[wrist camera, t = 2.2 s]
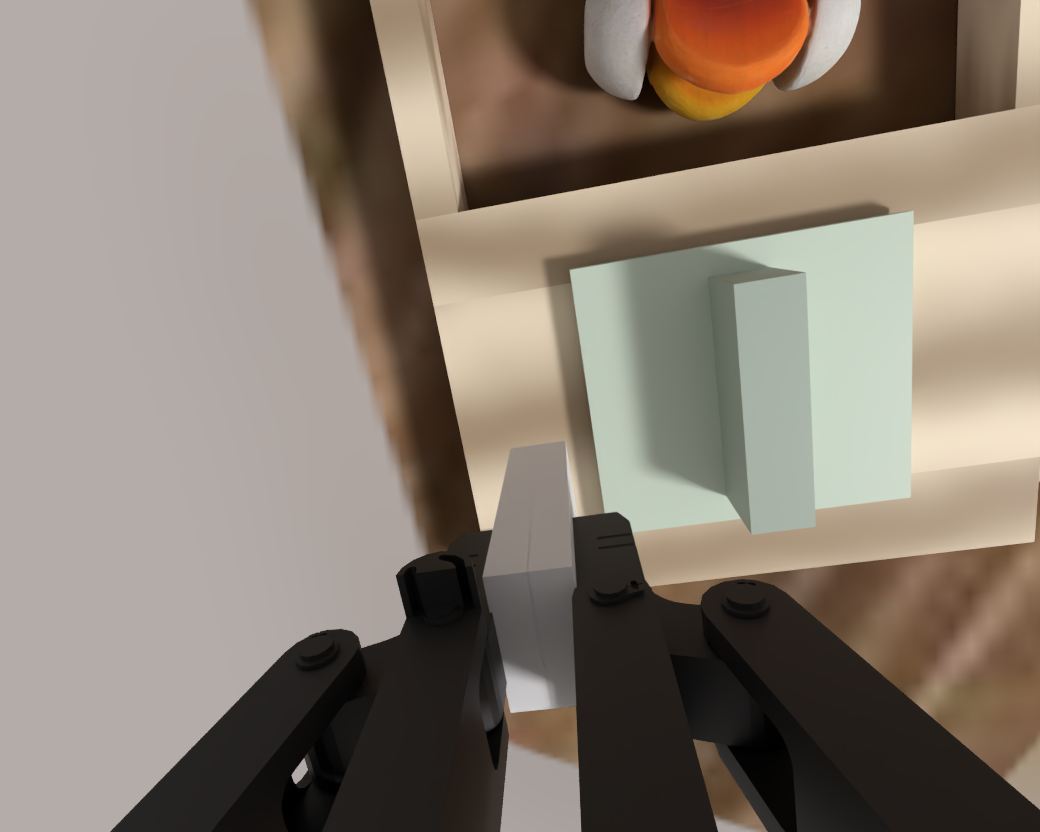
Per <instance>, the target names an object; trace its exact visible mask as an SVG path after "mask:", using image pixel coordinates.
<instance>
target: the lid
mask: <svg viewBox="0 0 1040 832" xmlns="http://www.w3.org/2000/svg"><path fill="white" fill-rule="evenodd" d="M913 235H914V211H903V212H897V213H892V214H886V215H880V216H874V217H868V218H863V219H857V220H851V221H845V222H839V223H834V224H828V225H822V226H816V227H810V228H805V229H799V230H793V231H787V232H781V233H776V234H770V235H764V236H758V237H752V238H747V239H741V240H735V241H729V242H723V243H718V244H712V245H706V246H700V247H694V248H689V249H683V250H677V251H671V252H665V253H660V254H654V255H648V256H642V257H636V258H631V259H625V260H619V261H613V262H607V263H602V264H596V265H590V266H584V267H578V268H573V269H569V271H570V278H571V284H572V291H573V298H574V305H575V312H576V319H577V326H578V333H579V340H580V347H581V354H582V360H583V367H584V374H585V381H586V388H587V395H588V402H589V409H590V416H591V423H592V430H593V436H594V443H595V450H596V457H597V464H598V471H599V478H600V485H601V492H602V499H603V506H604V512H605V513H611V512H618V513H620V514H621V515H622V516H624V517H625V518H626V519H628V520H629V521H630V525H631V529H632V533H633V532H641V531H648V530H656V529H664V528H672V527H680V526H688V525H696V524H704V523H712V522H720V521H728V520H736V519H742V521H743V523H744V524H745V526H746V527H747V529H748V530H749V532H750V533H751V535H754V534H762V533H770V532H778V531H786V530H794V529H802V528H811V527H816V519H815V509H823V508H831V507H839V506H847V505H855V504H863V503H871V502H879V501H887V500H895V499H903V498H910V497H911V436H912V336H913Z"/></svg>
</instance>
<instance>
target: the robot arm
mask: <svg viewBox="0 0 1040 832" xmlns="http://www.w3.org/2000/svg"><path fill="white" fill-rule="evenodd" d="M396 578H397V582H398V586H399V590H400V594H401V598H402V602H403V606H404V610H405V614H406V621H405V623H404V626H403V628H402V631H401V633H400V635H398V636H396V637H393V638H391V639H389V640H386V641H383V642H380V643H377V644H373V645H370V646H367V647H364V648H361V645H360V641H359V638H358V636H356V635H355V634H354V633H353V632H352V631H348V630H343V629H337V630H326V631H321V632H320V633H315V634H312V635H310V636H309V637H307V638H305V639H304V640H302V641H300V642H298V643H296V644H295V645H294V646H292V647H291V648H290V649H289V650H287V651H286V652H285V653H284V654H283V655H282V656H281V657H280V658H279V659H278V660H277V661H276V662H275V663H274V664H273V665H272V666H271V667H270V668H269V670H267V672H266V673H265V674H264V675H263V676H262V677H261V678H260V679H259V680H258V681H257V682H256V683H255V684H254V685H253V686H252V687H251V688H250V689H249V690H248V691H247V692H246V693H245V694H244V695H243V696H242V697H241V698H240V699H239V701H237V702H236V703H235V704H234V705H233V706H232V707H231V709H230V710H229V711H228V712H227V713H226V714H225V715H224V716H223V717H222V718H221V719H220V720H219V721H218V722H217V723H216V724H215V725H214V726H213V727H212V728H211V729H210V730H209V731H208V732H207V733H206V734H205V735H204V736H203V737H202V738H201V739H200V740H199V741H198V742H197V743H196V744H195V746H193V747H192V748H191V750H189V752H188V753H187V754H186V755H185V756H184V757H183V758H182V759H181V760H180V761H179V762H178V763H177V764H176V765H175V766H174V767H173V768H172V769H171V770H170V771H169V772H168V773H167V774H166V775H165V776H164V777H163V778H162V779H161V780H160V781H159V782H158V783H157V784H156V785H155V786H154V788H153V789H152V790H151V791H150V792H149V793H148V794H147V795H146V796H145V797H144V798H143V799H142V800H141V801H140V802H139V803H138V804H137V805H136V806H135V807H134V808H133V809H132V810H131V811H130V812H129V813H128V814H127V815H126V816H125V817H124V818H123V819H122V820H121V822H119V823H118V824H117V825H116V827H114V828H113V829H112V831H111V832H500V827H501V826H500V825H501V816H502V805H503V794H504V793H503V792H504V783H505V772H506V761H507V750H508V739H509V734H508V728H507V722H506V718H505V713H504V704H505V695H506V693H507V698H508V702H509V707H510V712H511V713H513V712H523V711H533V710H543V709H553V708H563V707H573V706H576V711H577V735H578V759H579V783H580V807H581V832H718V830H717V827H716V822H715V819H714V815H713V812H712V808H711V804H710V801H709V797H708V793H707V790H706V786H705V782H704V779H703V775H702V771H701V768H700V764H699V760H698V757H697V753H696V749H695V746H694V742H693V739H696V740H702V741H707V742H713V743H715V745H716V748H717V750H718V753H719V756H720V758H721V759H722V761H723V762H724V764H725V765H726V767H727V768H728V770H729V772H730V773H731V775H732V776H733V778H734V779H735V781H736V783H737V784H738V786H739V787H740V789H741V790H742V792H743V794H744V795H745V797H746V798H747V800H748V801H749V803H750V804H751V806H752V808H753V809H754V811H755V812H756V814H757V815H758V817H759V819H760V820H761V822H762V823H763V825H764V826H765V828H766V829H767V831H768V832H1040V810H1039V809H1038V808H1037V807H1036V806H1035V805H1034V804H1032V803H1031V802H1030V801H1029V800H1028V799H1026V798H1025V797H1024V796H1023V795H1022V794H1021V793H1019V792H1018V791H1017V790H1016V789H1015V788H1014V787H1013V786H1011V785H1010V784H1009V783H1008V782H1007V781H1005V780H1004V779H1003V778H1002V777H1001V776H1000V775H998V774H997V773H996V772H995V771H994V770H993V769H991V768H990V767H989V766H988V765H987V764H986V763H984V762H983V761H982V760H981V759H980V758H979V757H977V756H976V755H975V754H974V753H973V752H972V751H970V750H969V749H968V748H967V747H966V746H965V745H963V744H962V743H961V742H960V741H959V740H958V739H956V738H955V737H954V736H953V735H952V734H951V733H949V732H948V731H947V730H946V729H945V728H943V727H942V726H941V725H940V724H939V723H938V722H936V721H935V720H934V719H933V718H932V717H931V716H929V715H928V714H927V713H926V712H925V711H924V710H922V709H921V708H920V707H919V706H918V705H917V704H915V703H914V702H913V701H912V700H911V699H910V698H908V697H907V696H906V695H905V694H904V693H903V692H901V691H900V690H899V689H898V688H897V687H896V686H894V685H893V684H892V683H891V682H890V681H889V680H887V679H886V678H885V677H884V676H883V675H882V674H880V673H879V672H878V671H877V670H876V669H874V668H873V667H872V666H871V665H870V664H869V663H867V662H866V661H865V660H864V659H863V658H862V657H860V656H859V655H858V654H857V653H856V652H855V651H853V650H852V649H851V648H850V647H849V646H848V645H846V644H845V643H844V642H843V641H842V640H841V639H839V638H838V637H837V636H836V635H835V634H834V633H832V632H831V631H830V630H829V629H828V628H827V627H825V626H824V625H823V624H822V623H821V622H820V621H818V620H817V619H816V618H815V617H814V616H813V615H811V614H810V613H809V612H808V611H807V610H805V609H804V608H803V607H802V606H801V605H800V604H798V603H797V602H796V601H795V600H794V599H793V598H791V597H790V596H789V595H788V594H787V593H786V592H784V591H782V590H780V589H779V588H777V587H775V586H774V585H771V584H767V583H764V582H760V581H756V580H746V579H740V580H733V581H726V582H722V583H720V584H717V585H715V586H712V587H711V588H709V589H708V590H707V591H706V592H705V593H704V594H703V596H702V600H701V604H700V605H694V604H684V603H678V602H673V601H670V600H667V599H664V598H662V597H660V596H658V595H656V594H655V593H654V592H653V591H652V589H651V587H650V586H649V584H648V583H647V581H646V580H645V577H644V574H643V570H642V566H641V562H640V559H639V555H638V551H637V548H636V545H635V540H634V536H633V533H632V529H631V525H630V521H629V520H628V519H626V518H625V517H624V516H622V515H621V514H620V513H618V512H611V513H603V514H595V515H588V516H580V517H578V516H577V510H576V504H575V497H574V491H573V485H572V478H571V472H570V466H569V460H568V453H567V447H566V441H559V442H552V443H545V444H538V445H532V446H525V447H518V448H511V449H510V453H509V458H508V463H507V467H506V472H505V476H504V481H503V485H502V490H501V494H500V499H499V504H498V508H497V513H496V517H495V522H494V526H493V530H486V531H479V532H471V533H463V534H461V535H460V536H459V537H458V538H457V539H456V540H455V541H454V542H453V543H451V544H450V545H449V547H448V550H447V551H441V552H436V553H432V554H427V555H425V556H422V557H420V558H417V559H415V560H413V561H411V562H410V563H408V564H407V565H406V566H404V567H402V569H401V570H400V571H399V572H398V574H397V575H396ZM303 758H305V761H306V764H307V768H308V771H307V773H306V774H305V775H304V777H303V778H302V779H301V780H300V781H299V782H298V783H297V784H295V783H294V782H293V779H292V776H291V775H292V773H293V772H294V770H295V769H296V768H297V766H298V765H299V764H300V762H301V761H302V760H303Z"/></svg>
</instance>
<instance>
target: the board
mask: <svg viewBox="0 0 1040 832" xmlns="http://www.w3.org/2000/svg"><path fill="white" fill-rule="evenodd" d="M370 4H371V9H372V14H373V19H374V23H375V28H376V33H377V38H378V43H379V47H380V52H381V57H382V62H383V66H384V71H385V76H386V81H387V86H388V90H389V95H390V100H391V105H392V109H393V114H394V119H395V124H396V129H397V133H398V138H399V143H400V148H401V153H402V157H403V162H404V167H405V172H406V176H407V181H408V186H409V191H410V196H411V200H412V205H413V210H414V215H415V219H416V224H417V229H418V234H419V239H420V243H421V248H422V253H423V258H424V262H425V267H426V272H427V277H428V282H429V286H430V291H431V296H432V301H433V305H434V310H435V315H436V320H437V325H438V329H439V334H440V339H441V344H442V349H443V353H444V358H445V363H446V368H447V372H448V377H449V382H450V387H451V392H452V396H453V401H454V406H455V411H456V415H457V420H458V425H459V430H460V435H461V439H462V444H463V449H464V454H465V458H466V463H467V468H468V473H469V478H470V482H471V487H472V492H473V497H474V501H475V506H476V511H477V516H478V521H479V525H480V530H481V531H486V530H493V526H494V522H495V517H496V513H497V508H498V504H499V499H500V494H501V490H502V485H503V481H504V476H505V472H506V467H507V463H508V458H509V453H510V449H511V448H518V447H525V446H532V445H538V444H545V443H552V442H559V441H566V447H567V453H568V460H569V466H570V472H571V478H572V485H573V491H574V497H575V504H576V510H577V516H578V517H580V516H588V515H595V514H603V513H605V512H604V506H603V499H602V492H601V485H600V478H599V471H598V464H597V457H596V450H595V443H594V436H593V430H592V423H591V416H590V409H589V402H588V395H587V388H586V381H585V374H584V367H583V360H582V354H581V347H580V340H579V333H578V326H577V319H576V312H575V305H574V298H573V291H572V284H571V278H570V271H569V269H573V268H578V267H584V266H590V265H596V264H602V263H607V262H613V261H619V260H625V259H631V258H636V257H642V256H648V255H654V254H660V253H665V252H671V251H677V250H683V249H689V248H694V247H700V246H706V245H712V244H718V243H723V242H729V241H735V240H741V239H747V238H752V237H758V236H764V235H770V234H776V233H781V232H787V231H793V230H799V229H805V228H810V227H816V226H822V225H828V224H834V223H839V222H845V221H851V220H857V219H863V218H868V217H874V216H880V215H886V214H892V213H897V212H903V211H914V235H913V336H912V436H911V497H910V498H903V499H895V500H887V501H879V502H871V503H863V504H855V505H847V506H839V507H831V508H823V509H815V519H816V527H811V528H802V529H794V530H786V531H778V532H770V533H762V534H754V535H751V533H750V532H749V530H748V529H747V527H746V526H745V524H744V523H743V521H742V519H736V520H728V521H720V522H712V523H704V524H696V525H688V526H680V527H672V528H664V529H656V530H648V531H641V532H633V536H634V540H635V545H636V548H637V551H638V555H639V559H640V562H641V566H642V570H643V574H644V577H645V580H646V581H647V583H648V584H649V586H658V585H667V584H675V583H684V582H693V581H701V580H710V579H718V578H727V577H735V576H744V575H753V574H761V573H770V572H778V571H787V570H796V569H804V568H813V567H821V566H830V565H839V564H847V563H856V562H864V561H873V560H881V559H890V558H899V557H907V556H916V555H924V554H933V553H942V552H950V551H959V550H967V549H976V548H984V547H993V546H1002V545H1010V544H1019V543H1027V542H1034V539H1035V525H1036V512H1037V498H1038V484H1039V482H1040V0H958V29H957V66H956V103H955V120H953V121H948V122H942V123H937V124H932V125H926V126H921V127H916V128H910V129H905V130H899V131H894V132H889V133H883V134H878V135H872V136H867V137H862V138H856V139H851V140H845V141H840V142H835V143H829V144H824V145H819V146H813V147H808V148H802V149H797V150H792V151H786V152H781V153H775V154H770V155H765V156H759V157H754V158H749V159H743V160H738V161H732V162H727V163H722V164H716V165H711V166H705V167H700V168H695V169H689V170H684V171H678V172H673V173H668V174H662V175H657V176H652V177H646V178H641V179H635V180H630V181H625V182H619V183H614V184H608V185H603V186H598V187H592V188H587V189H581V190H576V191H571V192H565V193H560V194H555V195H549V196H544V197H538V198H533V199H528V200H522V201H517V202H511V203H506V204H501V205H495V206H490V207H484V208H479V209H474V210H469V209H468V204H467V198H466V193H465V188H464V182H463V177H462V171H461V166H460V161H459V155H458V150H457V144H456V139H455V134H454V128H453V123H452V117H451V112H450V107H449V101H448V96H447V90H446V85H445V80H444V74H443V69H442V63H441V58H440V52H439V47H438V42H437V36H436V31H435V25H434V20H433V15H432V9H431V4H430V0H370Z"/></svg>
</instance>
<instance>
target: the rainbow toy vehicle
mask: <svg viewBox="0 0 1040 832" xmlns="http://www.w3.org/2000/svg"><path fill="white" fill-rule="evenodd" d="M860 7H861V0H586V4H585V14H584V56H585V65H586V68H587V71H588V73H589V74H590V76H591V77H592V78H593V80H594V81H595V82H596V83H597V84H598V85H599V86H600V87H601V88H602V89H603V90H605V91H606V92H607V93H609V94H611V95H613V96H615V97H618V98H622V99H626V100H635V99H637V97H638V96H639V94H640V91H641V88H642V84H643V79H644V75H645V69H646V68H647V75H648V78H649V82H650V84H651V85H652V86H653V87H654V89H655V91H656V93H657V94H658V96H659V97H660V99H661V100H662V101H663V102H664V103H665V105H666V106H668V107H669V108H670V109H671V110H672V111H674V112H675V113H677V114H678V115H680V116H682V117H685V118H687V119H690V120H694V121H707V120H714V119H719V118H722V117H724V116H727V115H729V114H731V113H733V112H735V111H736V110H738V109H739V108H741V107H742V106H744V105H745V104H746V103H747V102H749V101H750V100H751V99H752V98H753V97H754V96H755V95H756V94H757V93H758V92H759V91H760V90H761V89H762V88H763V86H764V85H765V84H766V83H768V82H769V81H771V80H773V82H774V84H775V86H776V87H777V88H778V89H780V90H782V91H790V90H794V89H798V88H800V87H803V86H806V85H808V84H810V83H811V82H813V81H815V80H816V79H818V78H819V77H821V76H822V75H823V74H825V73H826V72H827V71H828V70H829V69H830V68H831V67H832V66H833V65H834V64H835V63H836V62H837V61H838V60H839V58H840V57H841V56H842V55H843V53H844V52H845V50H846V49H847V47H848V45H849V43H850V41H851V40H852V37H853V35H854V32H855V29H856V26H857V22H858V19H859V14H860Z"/></svg>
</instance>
